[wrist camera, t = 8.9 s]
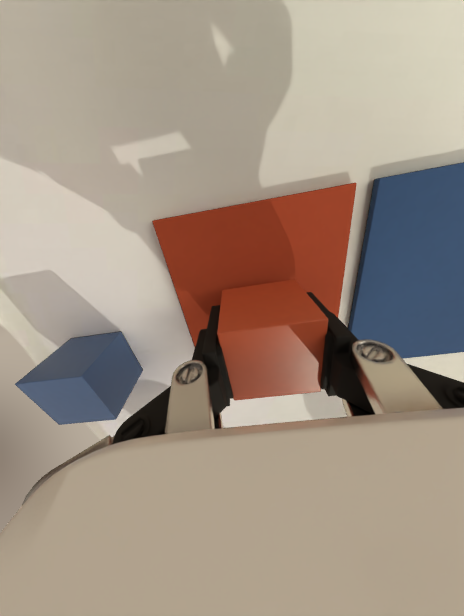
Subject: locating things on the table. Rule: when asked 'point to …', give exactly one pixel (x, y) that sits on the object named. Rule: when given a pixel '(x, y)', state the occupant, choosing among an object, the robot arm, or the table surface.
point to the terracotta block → (271, 340)
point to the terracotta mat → (259, 249)
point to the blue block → (84, 379)
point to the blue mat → (413, 264)
